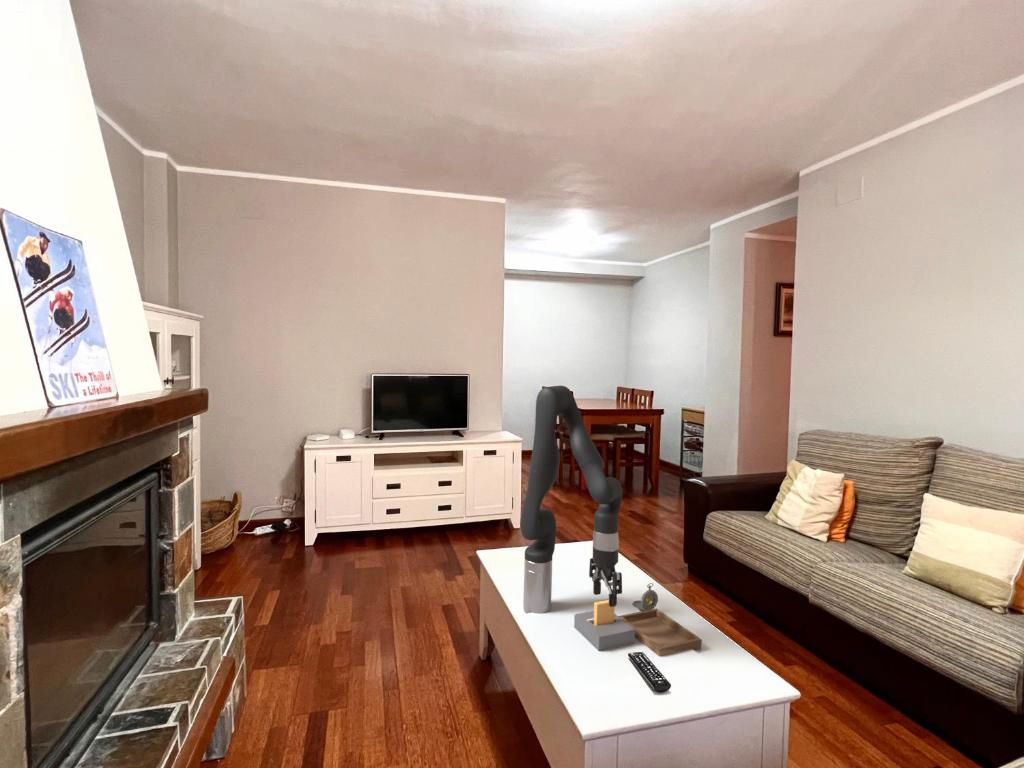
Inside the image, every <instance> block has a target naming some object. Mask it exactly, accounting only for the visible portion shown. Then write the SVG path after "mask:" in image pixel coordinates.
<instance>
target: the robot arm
mask: <svg viewBox="0 0 1024 768" xmlns="http://www.w3.org/2000/svg"><path fill="white" fill-rule="evenodd" d="M558 416H560V417H561V419H562V420H563V422H564V424H565V425H566V427H567V430H568V434H569V441H570V448H571V450H572V451H571V452H572V455H573V456H574V459H575V460H576V463H577V464H578V466H579V468H580V470H581V471H582V473H583V475H584V480H585V483H586V487H587V489H588V492H589V494H590V496H591V498H592V499H593V500H594V501H595V503H598V504H599V505H598V509H597V510H595V512H594V515H593V535H592V558H590V559H589V567H588V568H589V569H588V570H589V571H588V572H589V573H588V576H589V578H590V579H592V582H593V587H592V588H593V591H592V592H593V594H594V596H597V595H601V592H602V581H603V582H604V585H605V587H607V590H608V600H609V606H610V607H614V608H615V607H616V606H617V605H618V595H621V594H622V593H623V574H622V572H620V571H619V572H617V571H616V568H615V567H616V565H617V564H618V563H619V547H620V546H619V541H620V540H619V514H620V510H621V505H622V500H623V499H622V498H623V489H622V484H621V483H620V481H619V480H618V479H617V478H615V477H612V476H609V477H607V476H606V475H605V472H604V470H603V469H604V468H605V462H604V460H603V458H602V456H601V454H600V453H599V451H598V449H597V447H596V445H595V443H594V441H593V439H591V438H592V437H590V434H589V432H588V429H587V427H586V424H585V422H584V419H583V417H582V415H581V412H580V410H579V407H578V405H577V401H576V400H575V397H574V395H573V393H572V391H571V390H570V388H568V387H567V386H565V385H552V386H545V387H543V388H541V389H540V390H539V392H538V394H537V396H536V401H535V421H534V423H535V425H534V435H533V445H532V452H531V456H530V457H531V459H530V463H529V464H530V465H529V472H528V473H529V475H528V481H527V487H526V489H527V490H526V494H525V499H524V502H523V506H522V511H521V514H520V523H519V525H520V527H519V528H520V532H521V536H522V537H523V538H524V539H525V540H527V541H533V542H532V543H531V544H530V545H528V546H527V547H526V548H525V550H524V566H523V567H524V571H523V572H524V573H523V597H522V598H523V600H522V601H523V605H522V606H523V607H522V609H523V611H524V613H526V614H545V613H548V612H549V611H551V610H552V592H553V590H552V589H553V587H552V586H553V585H552V583H553V555H554V552H555V549H556V536H557V521H556V520H557V519H556V517H555V514H554V512H553V511H552V510H551V509H550V508H549V509H548V508H542V509H541V506H542V502H543V501H544V498H545V497H546V495H547V494H548V493H549V491H550V489H551V488H552V487H553V485H554V483H555V482H556V480H557V478H558V474H559V470H560V463H561V453H560V448H559V445H558V442H557V438H556V426H557V425H556V424H557V420H558Z"/></svg>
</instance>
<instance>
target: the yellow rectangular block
mask: <svg viewBox="0 0 1024 768" xmlns="http://www.w3.org/2000/svg"><path fill="white" fill-rule="evenodd" d="M593 611H594V625H595V626H598V625H603V624H608V623H613V622H614V613H615V606H614V607H610V606H609V599H607V600H600V601H595V602H594V603H593Z"/></svg>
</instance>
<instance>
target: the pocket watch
mask: <svg viewBox="0 0 1024 768" xmlns="http://www.w3.org/2000/svg"><path fill="white" fill-rule="evenodd" d="M646 587H647V588H648V590H646V591H645V592H643V594H642V595H641V598H640V600H635V601H633V602H632V603H631V605H632V606H633V607H634V608H636V609H637V610H639V612H641V611H647V610H652V609H655V608H656V607H657V604H658V601H659V596H658V594H657V592H656V591H655V590H653V589H652V587H654V583H648V584H647V586H646Z"/></svg>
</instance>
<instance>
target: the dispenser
mask: <svg viewBox="0 0 1024 768" xmlns="http://www.w3.org/2000/svg"><path fill="white" fill-rule="evenodd" d="M618 616H619V615H617V614H616V613H615V612H614V622H613V623H608V624H603V625H598V626H595V625H594V610H591V611H585V612H579V613H576V614H574V621H573V622H574V623H573V628H574V629H575V630H576V631H577V632H578V633H579V634H580V635H581V636H583V638H585V639H586V640H587V642H588V643H590V645H592V646H593V647H594V649H596V651H598V652H601V651H606V650H611V649H614V648H615V649H616V648H619V647H624V646H629V645H633V644H634V645H635V638H636V637H635V629H633V628H632V627H631V626H630V625H628V624H627V623H626V622H625V621H623V620H622V619H621V618H620V617H618Z"/></svg>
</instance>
